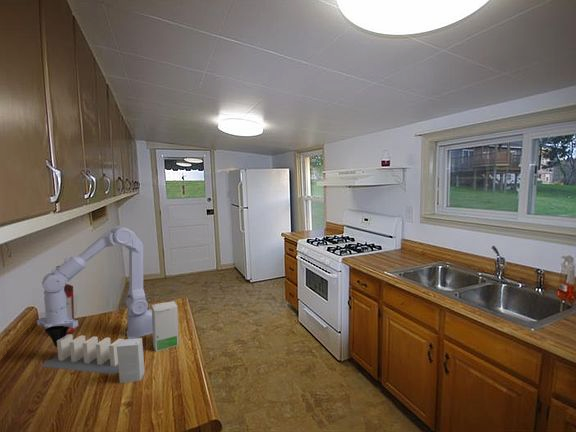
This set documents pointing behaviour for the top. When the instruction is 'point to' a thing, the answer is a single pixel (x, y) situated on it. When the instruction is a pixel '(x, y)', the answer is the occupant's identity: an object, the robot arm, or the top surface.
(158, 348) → the skincare box
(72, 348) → the domino
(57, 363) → the runner mat
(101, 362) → the domino
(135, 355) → the skincare box
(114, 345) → the domino
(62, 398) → the top surface
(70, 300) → the liquor
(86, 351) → the domino
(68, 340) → the domino
